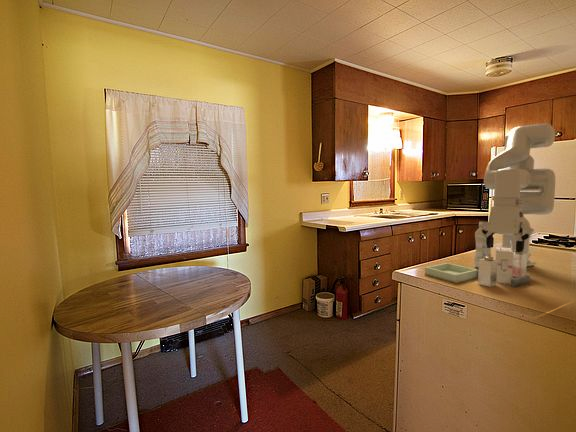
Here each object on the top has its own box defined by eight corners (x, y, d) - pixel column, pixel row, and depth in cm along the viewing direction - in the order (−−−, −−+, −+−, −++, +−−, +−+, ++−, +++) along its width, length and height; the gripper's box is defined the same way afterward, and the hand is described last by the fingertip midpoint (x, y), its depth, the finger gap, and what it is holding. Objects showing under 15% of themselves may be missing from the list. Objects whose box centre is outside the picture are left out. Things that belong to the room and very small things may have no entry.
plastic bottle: (492, 268, 127) (494, 221, 125) (489, 271, 122) (491, 223, 120) (475, 265, 131) (477, 220, 130) (471, 268, 126) (473, 222, 125)
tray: (446, 269, 126) (447, 262, 125) (478, 277, 114) (478, 269, 114) (424, 274, 119) (425, 267, 119) (455, 283, 108) (455, 275, 108)
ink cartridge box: (494, 276, 115) (495, 239, 114) (509, 278, 113) (511, 239, 111) (495, 282, 108) (497, 242, 107) (512, 284, 105) (514, 243, 104)
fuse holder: (502, 271, 121) (503, 247, 120) (539, 279, 110) (540, 253, 109) (466, 280, 110) (467, 254, 110) (503, 290, 99) (504, 261, 99)
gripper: (540, 203, 102) (537, 252, 103) (487, 202, 117) (485, 245, 118) (529, 203, 98) (526, 254, 100) (475, 202, 114) (473, 246, 115)
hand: (504, 249), depth 109 cm, fingers open, 9 cm apart
